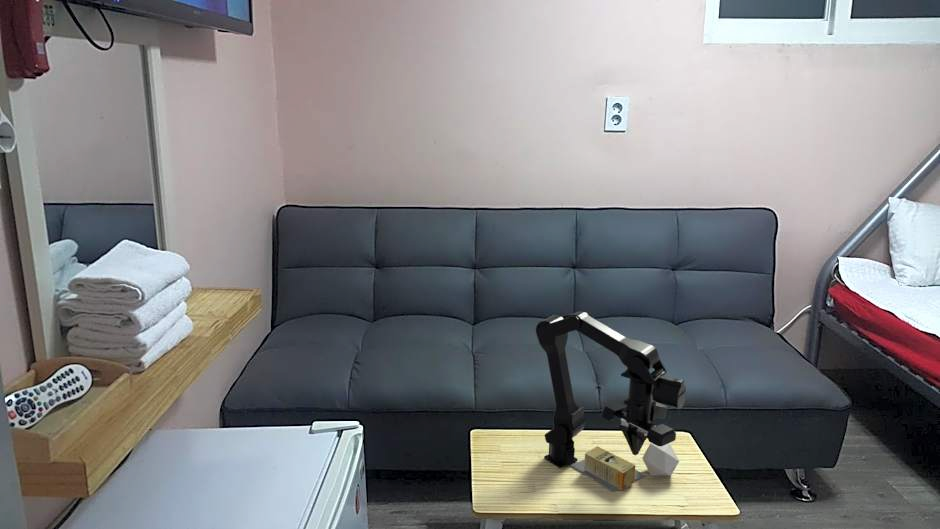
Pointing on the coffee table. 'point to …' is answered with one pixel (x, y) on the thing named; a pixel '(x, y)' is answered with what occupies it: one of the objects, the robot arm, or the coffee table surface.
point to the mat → (581, 467)
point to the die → (660, 460)
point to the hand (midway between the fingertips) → (635, 454)
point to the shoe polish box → (610, 468)
